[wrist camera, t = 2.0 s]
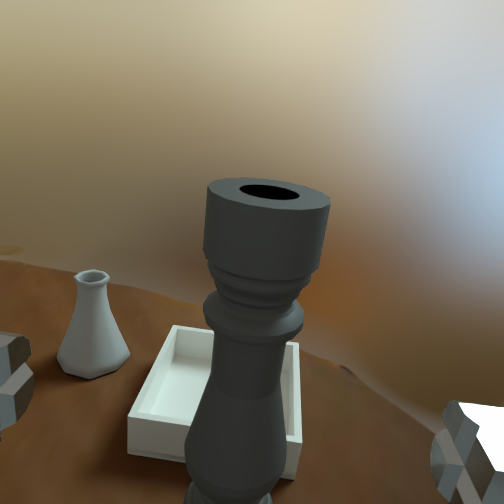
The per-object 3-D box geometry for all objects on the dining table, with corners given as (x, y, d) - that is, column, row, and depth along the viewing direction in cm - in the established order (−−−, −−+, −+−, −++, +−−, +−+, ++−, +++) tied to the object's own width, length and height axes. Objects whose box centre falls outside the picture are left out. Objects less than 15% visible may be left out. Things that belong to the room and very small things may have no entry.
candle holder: (181, 507, 31) (205, 171, 22) (264, 510, 31) (321, 183, 22) (170, 603, 25) (197, 202, 16) (271, 605, 26) (353, 218, 16)
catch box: (127, 453, 35) (127, 416, 33) (171, 354, 48) (173, 324, 46) (294, 480, 34) (302, 443, 33) (293, 372, 47) (298, 343, 46)
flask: (88, 390, 41) (84, 301, 37) (43, 360, 44) (36, 275, 41) (142, 356, 47) (144, 276, 43) (99, 332, 50) (97, 256, 46)
